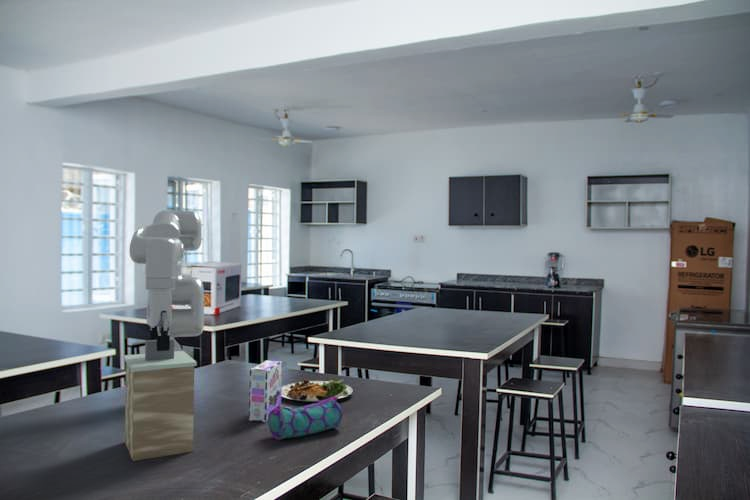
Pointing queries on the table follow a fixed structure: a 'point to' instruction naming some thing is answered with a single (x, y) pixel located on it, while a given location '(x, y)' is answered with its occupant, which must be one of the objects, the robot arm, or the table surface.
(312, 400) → the plate of food
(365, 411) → the table surface
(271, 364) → the candy box
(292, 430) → the pencil case
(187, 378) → the crate
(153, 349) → the lid
